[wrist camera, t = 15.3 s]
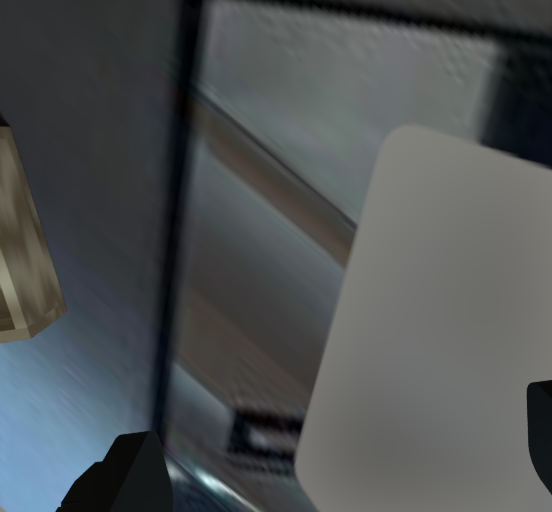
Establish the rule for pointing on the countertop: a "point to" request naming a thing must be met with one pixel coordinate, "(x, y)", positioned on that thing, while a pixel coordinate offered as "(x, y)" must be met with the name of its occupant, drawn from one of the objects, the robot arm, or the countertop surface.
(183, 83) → the countertop surface
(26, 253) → the crate
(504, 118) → the countertop surface
